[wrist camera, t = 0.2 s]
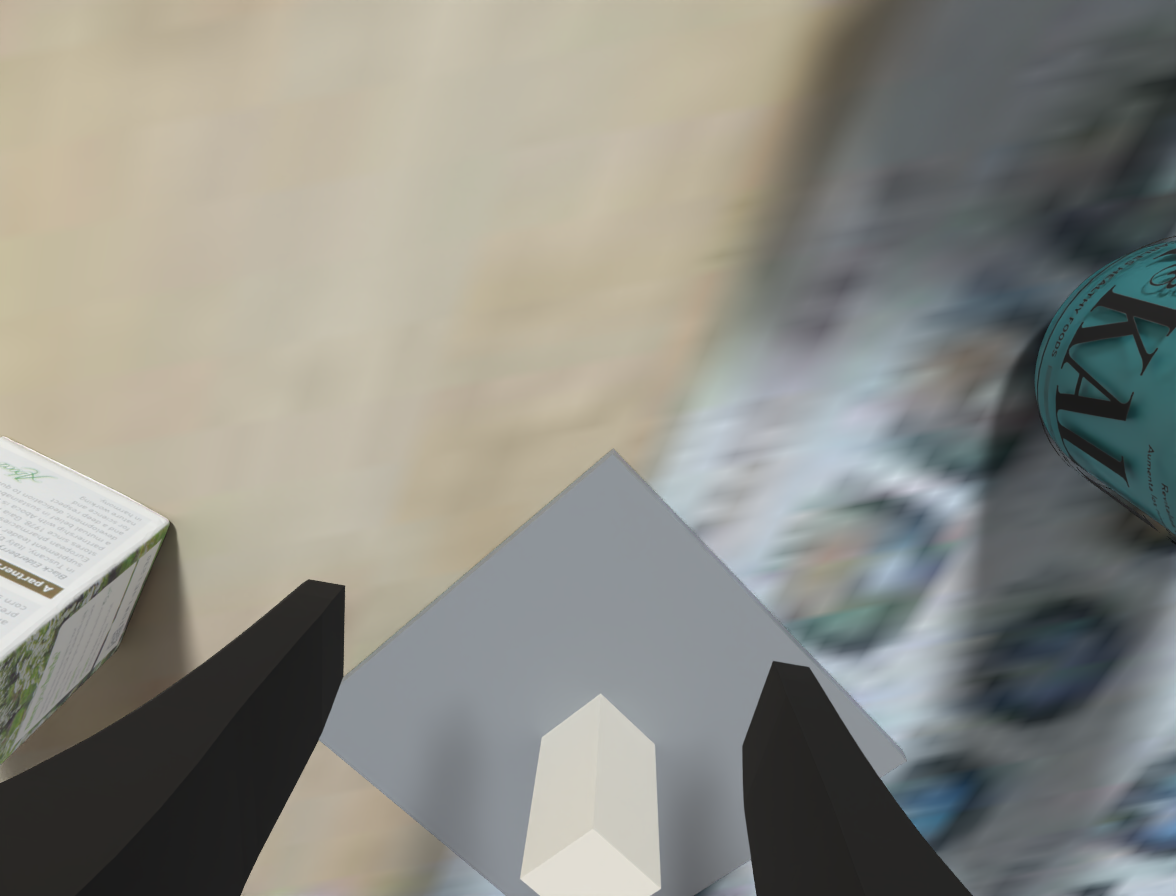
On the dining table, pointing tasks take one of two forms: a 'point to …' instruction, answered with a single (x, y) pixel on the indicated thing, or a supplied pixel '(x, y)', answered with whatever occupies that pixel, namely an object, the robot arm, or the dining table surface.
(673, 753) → the flat grey base plate
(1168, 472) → the beverage bottle
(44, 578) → the syrup box
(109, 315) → the dining table surface
